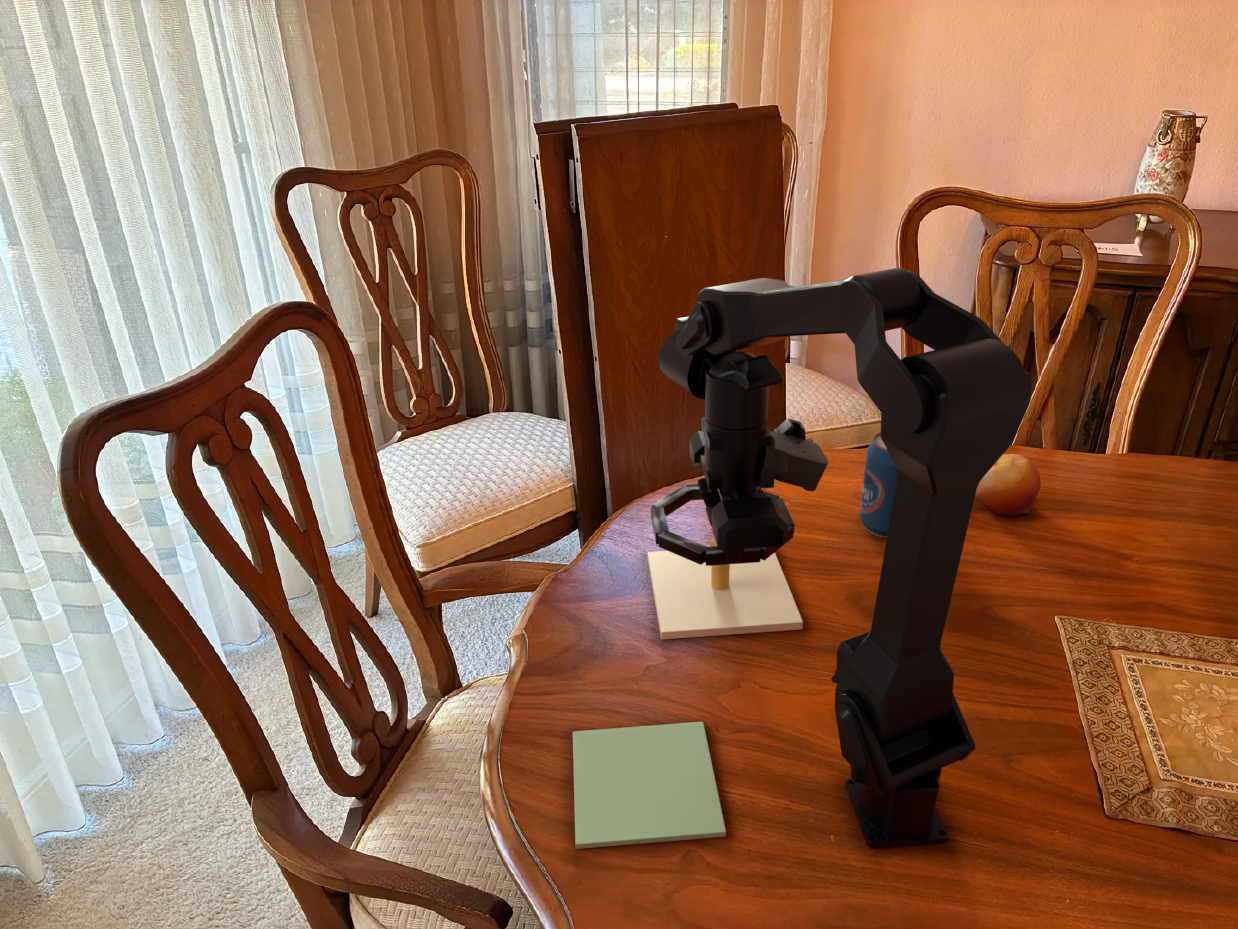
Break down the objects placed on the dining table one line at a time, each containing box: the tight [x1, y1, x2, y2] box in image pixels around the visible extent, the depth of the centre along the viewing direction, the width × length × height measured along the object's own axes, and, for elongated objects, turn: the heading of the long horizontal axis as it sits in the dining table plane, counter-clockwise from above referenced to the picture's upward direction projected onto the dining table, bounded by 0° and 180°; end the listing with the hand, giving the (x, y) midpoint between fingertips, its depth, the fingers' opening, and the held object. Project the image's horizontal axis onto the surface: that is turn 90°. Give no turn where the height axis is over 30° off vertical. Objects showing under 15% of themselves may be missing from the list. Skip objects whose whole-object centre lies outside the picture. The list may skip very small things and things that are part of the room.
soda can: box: [859, 431, 898, 539], centre depth 104 cm, size 7×7×12 cm
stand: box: [647, 537, 804, 640], centre depth 95 cm, size 15×15×7 cm
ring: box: [650, 483, 795, 566], centre depth 92 cm, size 15×15×1 cm
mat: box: [572, 721, 727, 850], centre depth 73 cm, size 12×12×1 cm
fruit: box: [975, 453, 1042, 516], centre depth 109 cm, size 8×8×8 cm
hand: (732, 557), depth 86 cm, fingers closed on ring, 1 cm apart
